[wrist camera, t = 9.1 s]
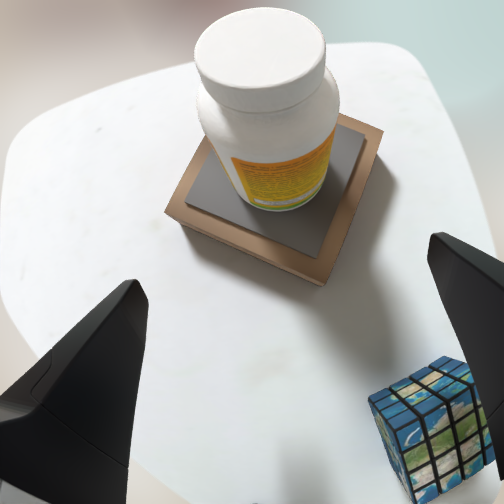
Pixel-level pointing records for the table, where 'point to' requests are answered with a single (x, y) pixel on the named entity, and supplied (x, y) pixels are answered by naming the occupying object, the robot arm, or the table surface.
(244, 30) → the supplement bottle
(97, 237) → the table surface
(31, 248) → the table surface
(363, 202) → the table surface
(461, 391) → the puzzle
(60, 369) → the robot arm
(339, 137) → the base block
